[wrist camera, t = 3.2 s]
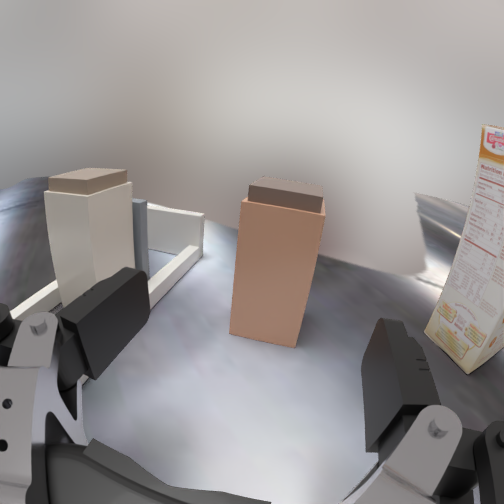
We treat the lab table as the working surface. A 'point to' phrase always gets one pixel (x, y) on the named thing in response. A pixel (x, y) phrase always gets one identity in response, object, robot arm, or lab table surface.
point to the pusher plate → (140, 235)
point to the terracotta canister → (275, 259)
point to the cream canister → (89, 227)
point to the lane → (159, 238)
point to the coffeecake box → (476, 268)
